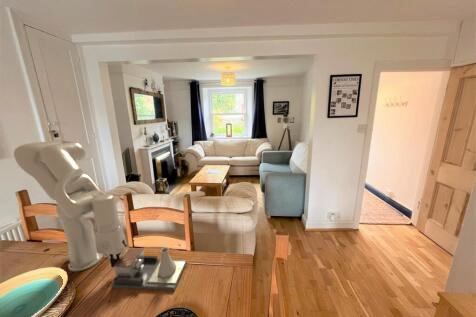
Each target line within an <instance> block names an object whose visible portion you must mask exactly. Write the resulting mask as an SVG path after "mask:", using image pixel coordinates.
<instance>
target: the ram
mask: <svg viewBox="0 0 476 317" xmlns="http://www.w3.org/2000/svg"><path fill="white" fill-rule="evenodd" d="M144 250H145V249H144V248H140V247H138V248H136V247H129V248H128V249H127V251H126V252H125V253H124V254H122V256H121V257H120V259H119V261H118V262H117V263H116V264H115V265H114V267H113V268H114V272H115V277H126V278H134V276H135V275H136V273H137V272H138V271H139V270H141V269H142V268H143V266H144V262H145V257H144V256H145V251H144Z"/></svg>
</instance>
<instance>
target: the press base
mask: <svg viewBox="0 0 476 317" xmlns="http://www.w3.org/2000/svg"><path fill="white" fill-rule="evenodd" d="M144 257H145V262H144V266H143V268H142V269H141V270H139V271H138V272H137V273H136V275H135V276H134V278H126V277H116V276H115V277H114V278H113V280H112V281H113V282H112V283H110V287H111V288H112V289H124V290H125V289H127V290H129V289H130V290H149V291H150V290H151V291H166V292H167V291H168V292H169V291H170V292H171V291H172V292H175V290H176V288H177V285H178V284H179V281H180V279H181V277H182V274H183V272H184V270H185V268H186V265H187V264H188V263H187V259H172V260H173V262H174V263H175V265H176V271H175V272H174V273H173V274H172V275H171V276H169V277H160V276H158V271H159V267H160V264H161V258H160V259H159V258H158V255H144Z"/></svg>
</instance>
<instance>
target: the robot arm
mask: <svg viewBox="0 0 476 317" xmlns="http://www.w3.org/2000/svg"><path fill="white" fill-rule="evenodd" d="M85 157H86V151H85V148H84V147H83V146H82V145H81V144H80V143H78V142H77V141H76V142H75V141H70V140H63V139H59V140H58V139H57V140H47V141H39V142H38V141H37V142H31V143H24V144H21V145H19V146H17V147H15V149H14V151H13V158H14V160H15V162H16V163H17V165H18V167H20V168H21V169H22V170H23V171H24V172H25V173H27V174H28V175H29V176H31V177H32V178H34V180H35V181H37V183H38V184H39V186H40V187H41V189H42V190H43V191H44V192H45V193H46V195H47V196H48V197H49V198H50V199H51V200H53V201H55V202H56V206H55V212H56V215H57V216H58V219H59V220H60V222H61V225H62V228H63V231H64V236H65V240H66V243H67V245H68V246H67V247H68V252H66V254H67V255H66V256H64V258H65V259H67V260H69V263H68V265H67V266H68V270H69V271H70V272H80V271H85V270H87V269H89V268H91V267H93V266H95V265H96V264H98V263H99V262H100V261H101V260H102V258H103V256H104V255H106V257H107V259H109V261H110V266H111V268H114V265H115V264H116V263H117V262H118V261H119V259H120V258H121V257H120V255H124V254H125V253H126V252H127V251H128V249H127V240H126V234H125V232H124V230H123V227H122V226H121V225H120V219H119V214H118V207H117V203H116V202H117V201H116V198H115V195H113V194H111V193H105V192H104V191H102V189H100V188H99V186H98V185H97V184H96V183H95V181H94V180H93V179H92V178H91V177H90V176H89V175H87V174H86V173H83V172H84V170H83V169H82V167H81V166H80V165H79V164H78V162H77V161H81V160H83V159H85ZM92 213H93V218H94V225H93V222H92V221H91V220H90V219H88V218H85V216H87V215H89V214H92ZM94 226H95V228H96V230H94Z"/></svg>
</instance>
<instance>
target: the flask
mask: <svg viewBox="0 0 476 317" xmlns="http://www.w3.org/2000/svg"><path fill="white" fill-rule="evenodd" d="M169 250H170V248H169V247H162V248H161V249H160V251H159V252H160V254H161V258H160V259H161V264H160V267H159V271H158V276H160V277H169V276H171V275H172V274H173V273H174V272H175V271H176V265H175V263H174V262H173V260H174V259H172V257H171V256H170V253H169Z"/></svg>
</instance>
